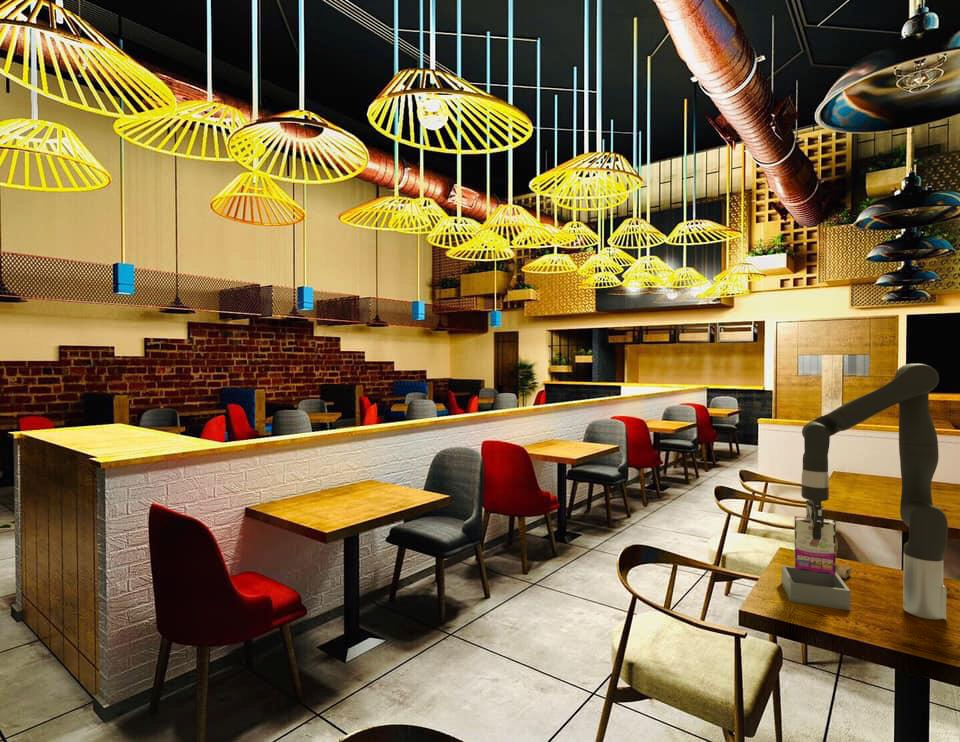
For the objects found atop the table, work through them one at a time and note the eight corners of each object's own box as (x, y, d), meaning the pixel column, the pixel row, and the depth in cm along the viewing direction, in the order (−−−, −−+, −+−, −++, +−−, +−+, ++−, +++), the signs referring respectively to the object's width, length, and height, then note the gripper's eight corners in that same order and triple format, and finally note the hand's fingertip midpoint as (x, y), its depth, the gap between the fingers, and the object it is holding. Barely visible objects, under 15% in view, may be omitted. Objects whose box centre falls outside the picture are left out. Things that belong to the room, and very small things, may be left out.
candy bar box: (833, 570, 172) (834, 519, 172) (835, 575, 168) (836, 523, 167) (793, 564, 177) (794, 515, 177) (794, 569, 173) (795, 519, 173)
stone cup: (799, 575, 190) (799, 533, 190) (802, 565, 199) (802, 525, 199) (850, 585, 181) (851, 541, 181) (851, 574, 191) (852, 532, 190)
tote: (836, 589, 177) (836, 571, 177) (850, 610, 162) (850, 590, 162) (781, 582, 183) (781, 565, 183) (790, 602, 168) (790, 583, 168)
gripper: (834, 489, 164) (834, 544, 164) (823, 480, 177) (822, 531, 178) (806, 487, 167) (806, 541, 167) (797, 478, 180) (796, 528, 180)
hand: (814, 536), depth 172 cm, fingers closed on candy bar box, 5 cm apart
